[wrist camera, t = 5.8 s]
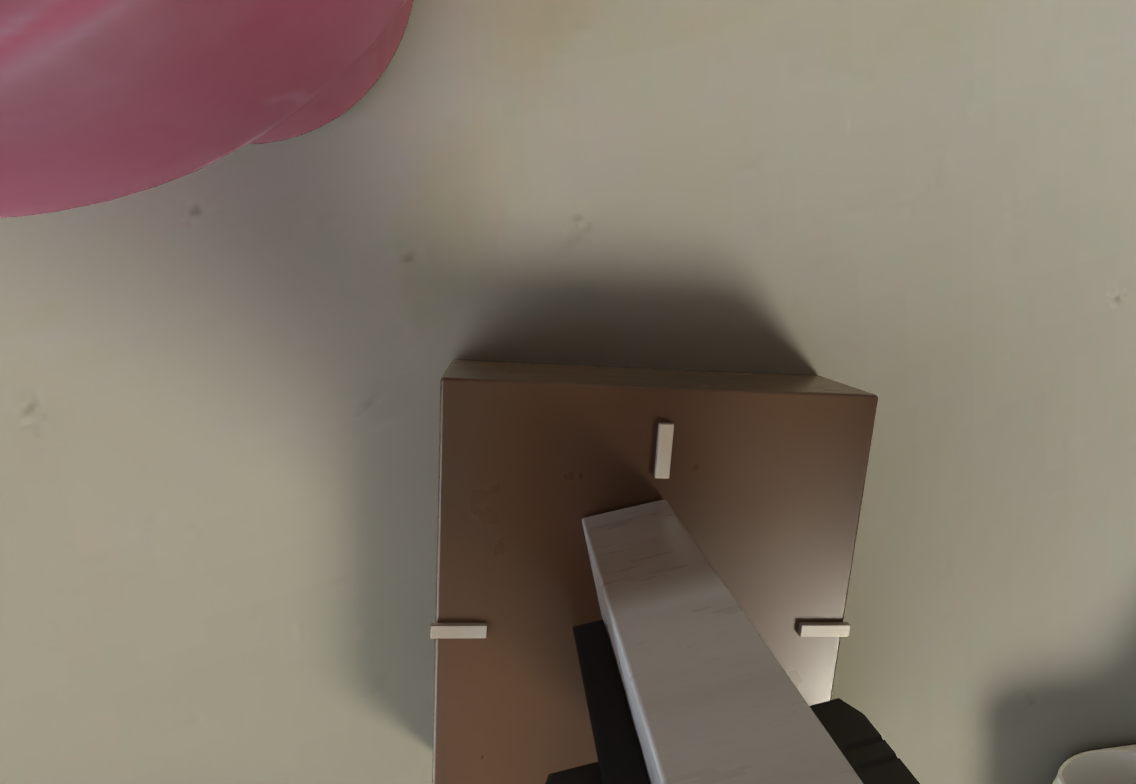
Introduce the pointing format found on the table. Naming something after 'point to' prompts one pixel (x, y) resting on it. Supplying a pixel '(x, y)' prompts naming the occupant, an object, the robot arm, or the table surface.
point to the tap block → (612, 482)
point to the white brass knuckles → (1100, 767)
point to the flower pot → (170, 86)
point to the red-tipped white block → (698, 663)
